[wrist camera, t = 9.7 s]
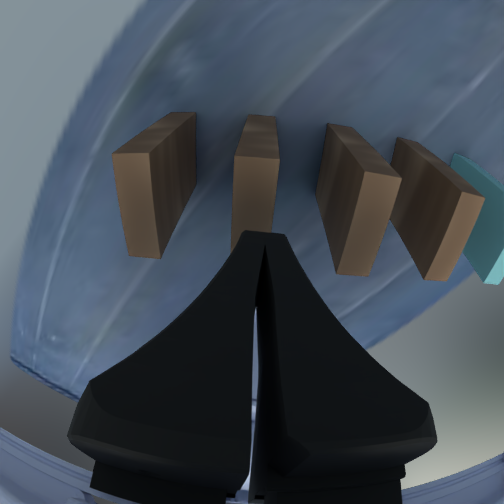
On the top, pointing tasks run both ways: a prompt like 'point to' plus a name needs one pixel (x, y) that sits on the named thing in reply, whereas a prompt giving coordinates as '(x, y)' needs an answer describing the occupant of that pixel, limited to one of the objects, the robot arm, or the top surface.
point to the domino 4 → (432, 209)
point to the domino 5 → (484, 222)
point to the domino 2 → (255, 177)
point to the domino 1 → (155, 182)
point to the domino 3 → (354, 199)
